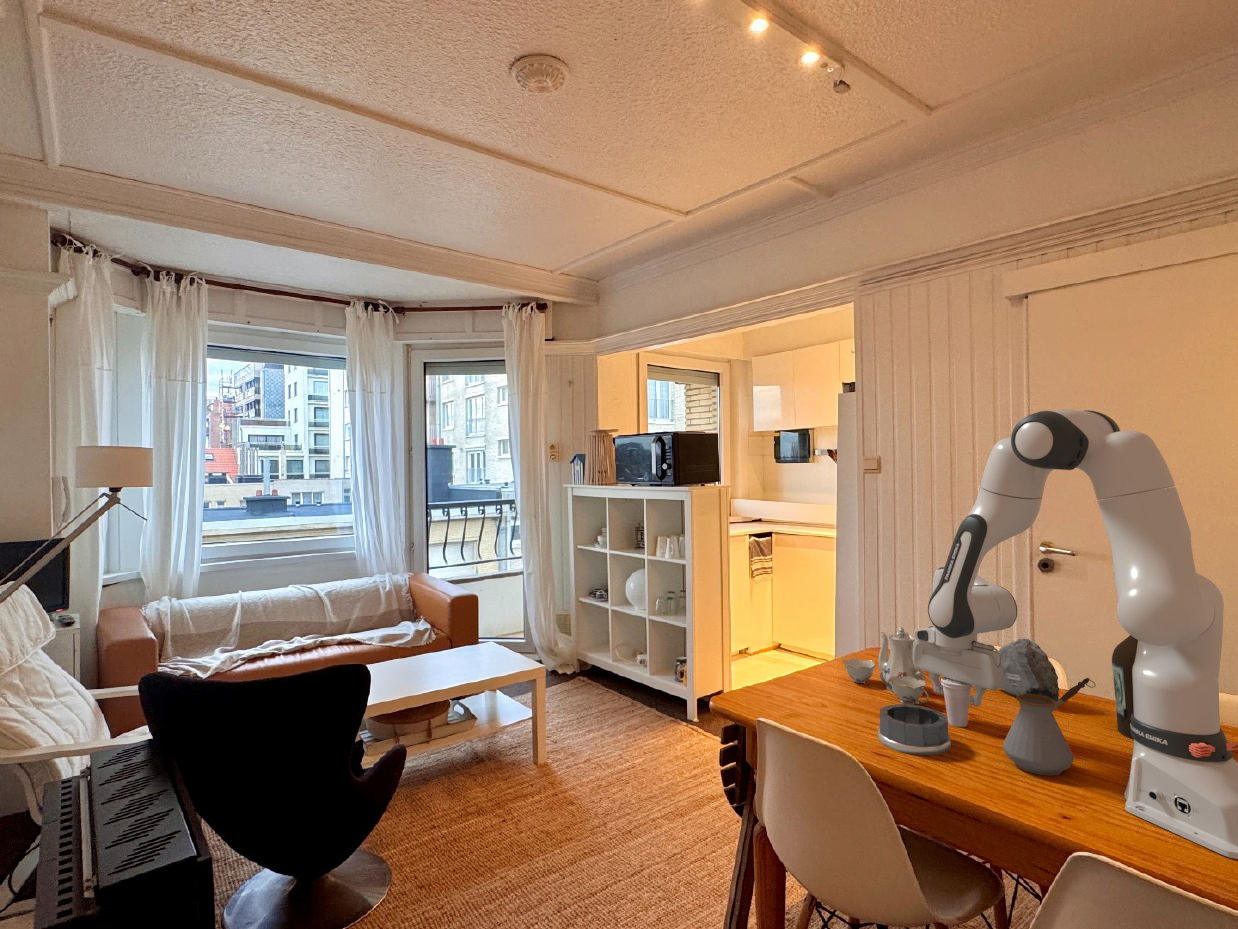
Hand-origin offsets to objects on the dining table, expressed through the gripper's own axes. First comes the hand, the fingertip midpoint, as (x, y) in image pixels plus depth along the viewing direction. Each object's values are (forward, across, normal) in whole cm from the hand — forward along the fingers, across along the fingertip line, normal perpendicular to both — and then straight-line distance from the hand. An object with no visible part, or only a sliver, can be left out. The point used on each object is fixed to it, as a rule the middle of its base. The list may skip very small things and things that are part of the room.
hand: (957, 698), depth 148 cm
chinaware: (+6, +23, -7) cm, 25 cm away
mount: (+6, -1, +16) cm, 17 cm away
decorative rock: (+6, +2, -28) cm, 29 cm away
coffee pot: (+6, -22, +2) cm, 23 cm away
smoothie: (+6, 0, 0) cm, 6 cm away
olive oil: (+6, -24, -28) cm, 37 cm away
